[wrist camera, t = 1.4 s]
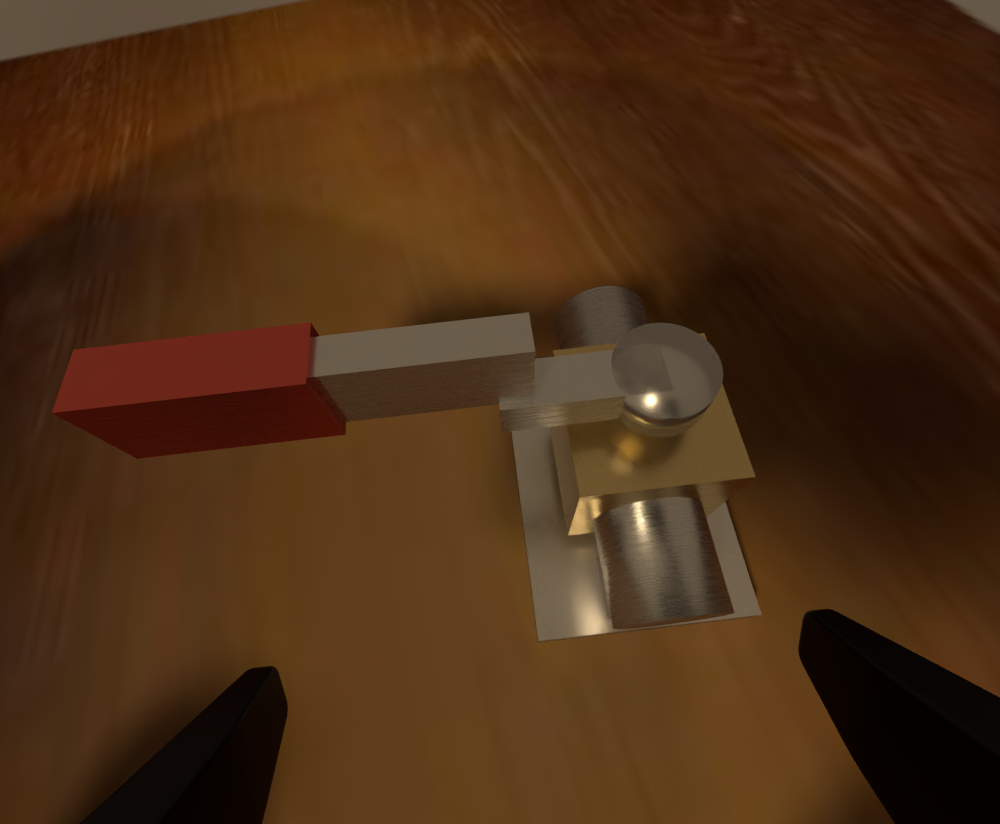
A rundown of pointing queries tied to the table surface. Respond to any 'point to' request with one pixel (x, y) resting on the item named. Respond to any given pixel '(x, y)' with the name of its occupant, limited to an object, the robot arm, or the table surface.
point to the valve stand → (629, 506)
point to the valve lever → (377, 383)
